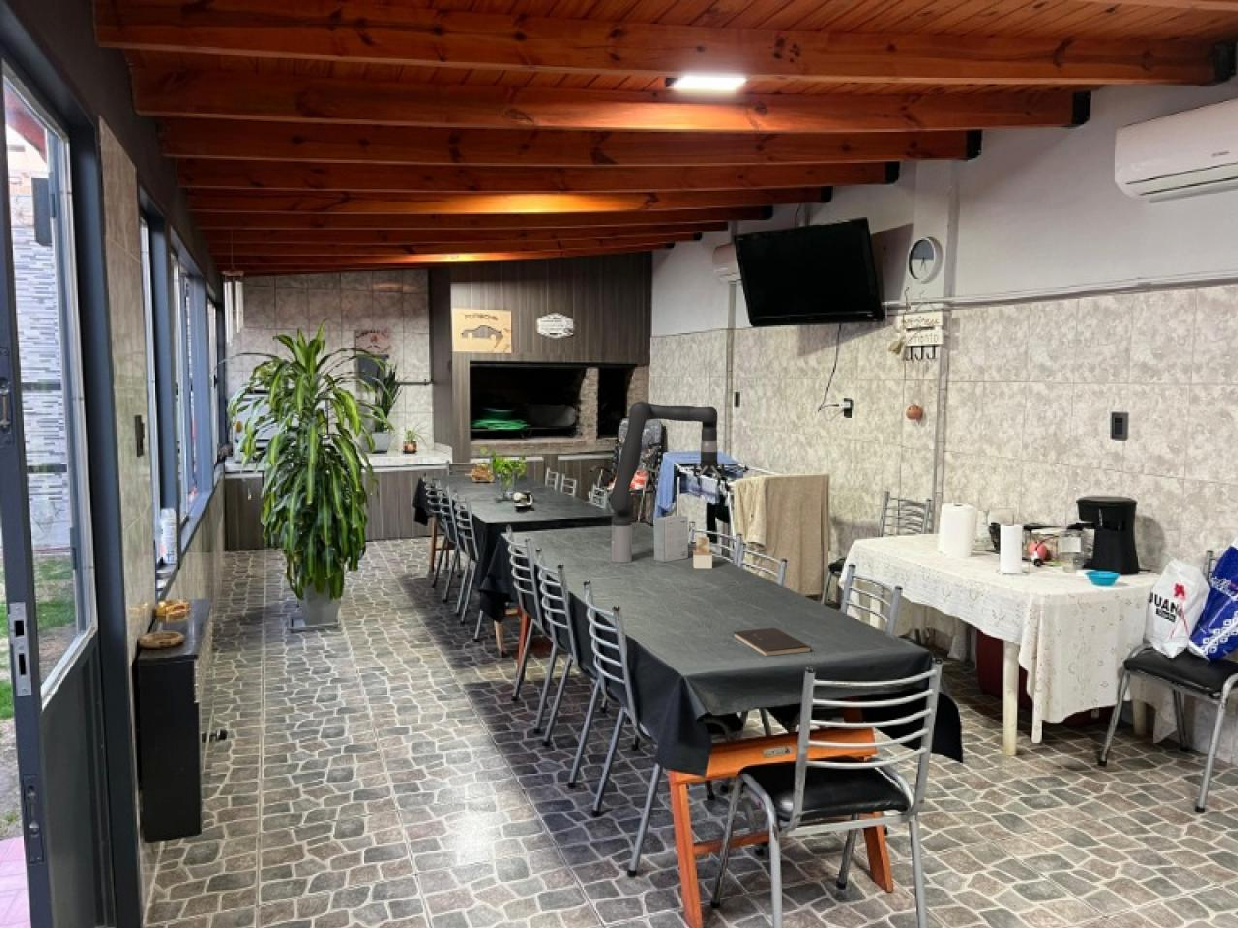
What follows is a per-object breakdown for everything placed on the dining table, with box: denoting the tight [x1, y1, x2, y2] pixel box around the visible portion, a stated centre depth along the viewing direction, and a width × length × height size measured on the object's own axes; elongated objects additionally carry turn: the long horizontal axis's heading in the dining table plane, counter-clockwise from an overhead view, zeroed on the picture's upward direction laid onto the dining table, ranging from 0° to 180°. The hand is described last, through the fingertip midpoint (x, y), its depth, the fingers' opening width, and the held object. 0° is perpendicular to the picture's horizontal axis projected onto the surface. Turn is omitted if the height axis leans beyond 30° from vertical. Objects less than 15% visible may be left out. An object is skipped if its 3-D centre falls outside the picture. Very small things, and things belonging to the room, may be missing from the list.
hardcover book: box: [733, 627, 812, 657], centre depth 300 cm, size 16×23×2 cm
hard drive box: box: [653, 514, 689, 563], centre depth 436 cm, size 16×8×20 cm, turn 130°
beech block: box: [695, 536, 710, 553], centre depth 420 cm, size 6×6×6 cm
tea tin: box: [692, 549, 713, 569], centre depth 420 cm, size 8×8×7 cm
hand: (708, 486), depth 422 cm, fingers open, 8 cm apart
